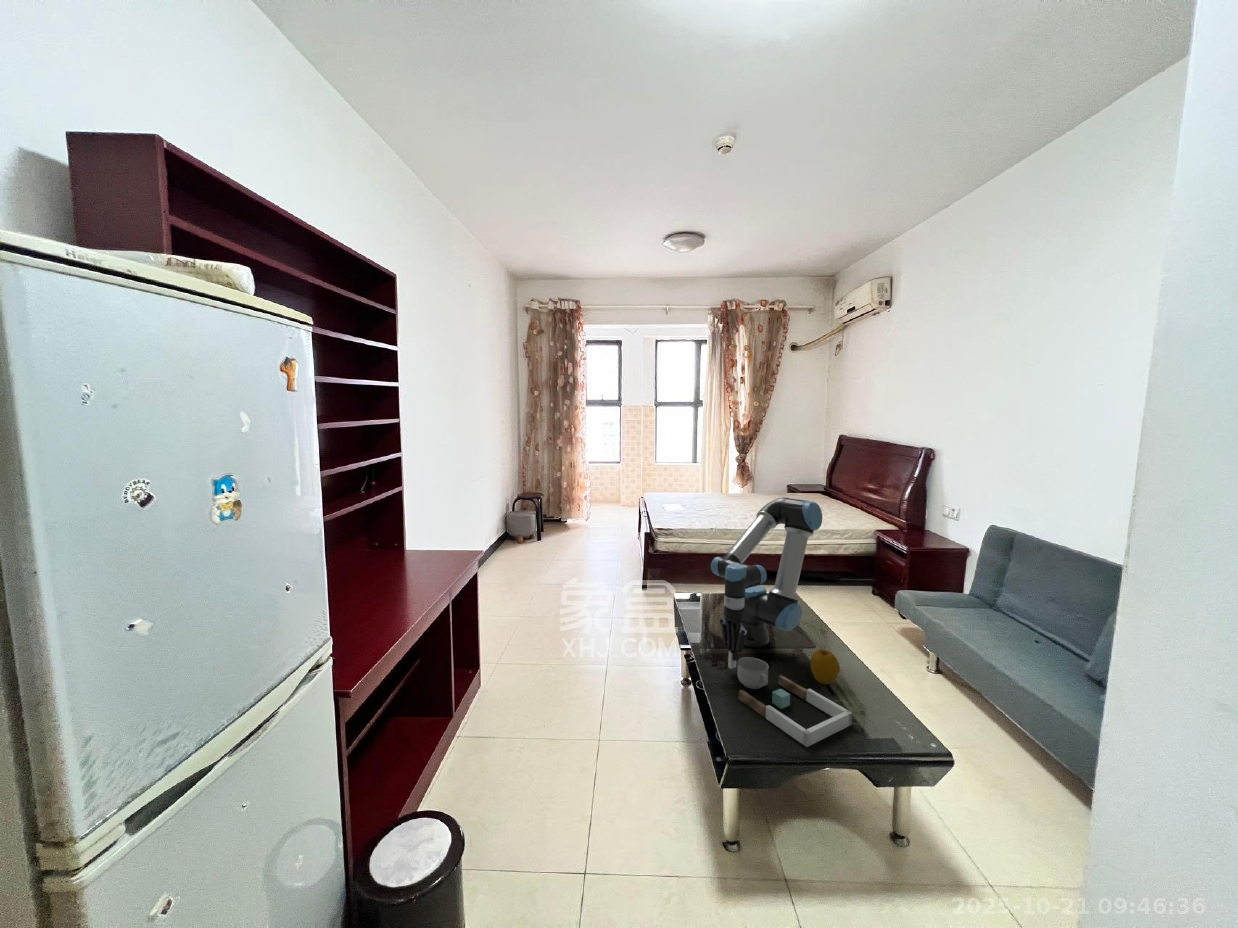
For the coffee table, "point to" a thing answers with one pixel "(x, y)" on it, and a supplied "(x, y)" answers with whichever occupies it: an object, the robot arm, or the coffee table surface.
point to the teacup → (753, 672)
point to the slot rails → (761, 707)
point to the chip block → (781, 698)
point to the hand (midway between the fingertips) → (732, 667)
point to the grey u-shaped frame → (819, 731)
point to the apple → (824, 666)
